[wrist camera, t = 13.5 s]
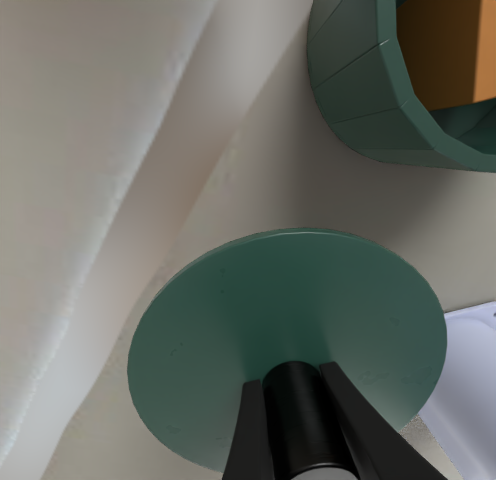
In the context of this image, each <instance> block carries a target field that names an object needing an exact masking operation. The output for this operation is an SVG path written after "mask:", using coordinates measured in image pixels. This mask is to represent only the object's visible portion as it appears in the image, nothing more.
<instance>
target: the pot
mask: <svg viewBox="0 0 496 480" xmlns="http://www.w3.org/2000/svg"><path fill="white" fill-rule="evenodd" d="M406 1H407V0H313V4H312V8H311V12H310V19H309V26H308V36H307V59H308V71H309V76H310V81H311V87H312V90H313V93H314V96H315V99H316V103H317V105H318V107H319V109H320V111H321V113H322V115H323V117H324V119H325V120H326V122H327V124H328V125H329V127H330V128H331V129H332V131H333V132H334V133H335V134H336V135H337V136H338V138H339V139H340V140H342V141H343V142H344V143H345V144H346V145H347V146H349V147H350V148H351V149H353V150H355V151H356V152H358V153H360V154H362V155H364V156H366V157H369V158H371V159H375V160H378V161H380V162H386V163H396V164H406V165H416V166H426V167H436V168H446V169H456V170H466V171H477V172H489V173H496V98H494V99H490V100H486V101H482V102H478V103H474V104H469V105H463V106H458V107H452V108H447V109H441V110H435V111H430V112H428V111H427V110H426V108H425V107H424V106H423V105H422V103H421V102H420V101H419V99H418V98H417V97H416V96H415V94H414V91H413V88H412V84H411V81H410V78H409V75H408V71H407V68H406V65H405V62H404V59H403V55H402V52H401V49H400V46H399V43H398V39H397V33H396V9H397V8H398V7H400V6H401V5H402V4H403V3H404V2H406Z"/></svg>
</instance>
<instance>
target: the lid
mask: <svg viewBox="0 0 496 480" xmlns="http://www.w3.org/2000/svg"><path fill="white" fill-rule="evenodd" d="M446 352H447V326H446V321H445V317H444V312H443V310H442V308H441V305H440V303H439V300H438V298H437V296H436V294H435V293H434V291H433V290H432V288H431V287H430V285H429V283H428V282H427V281H426V280H425V279H424V277H423V276H422V275H421V274H420V273H419V272H418V271H417V270H416V269H415V268H414V267H413V266H412V265H410V264H409V263H408V262H406V261H405V260H404V259H402V258H401V257H400V256H398V255H397V254H395V253H394V252H392V251H390V250H388V249H387V248H385V247H383V246H381V245H379V244H377V243H375V242H373V241H371V240H368V239H365V238H362V237H359V236H357V235H354V234H350V233H345V232H340V231H335V230H330V229H318V228H290V229H277V230H272V231H267V232H261V233H256V234H252V235H249V236H246V237H243V238H240V239H237V240H233V241H230V242H228V243H226V244H224V245H222V246H220V247H217V248H215V249H213V250H211V251H209V252H207V253H205V254H204V255H202V256H201V257H199V258H197V259H196V260H194V261H193V262H191V263H189V264H188V265H187V266H185V267H184V268H183V269H182V270H181V271H179V272H178V273H177V274H176V275H175V276H173V277H172V278H171V279H170V280H169V281H168V282H167V283H166V284H165V285H164V287H163V288H162V289H161V290H160V291H159V292H158V293H157V294H156V295H155V297H154V299H153V300H152V302H151V303H150V305H149V306H148V308H147V309H146V311H145V312H144V314H143V316H142V318H141V320H140V322H139V324H138V327H137V329H136V331H135V333H134V335H133V339H132V342H131V346H130V350H129V354H128V367H127V374H128V384H129V390H130V394H131V397H132V400H133V404H134V406H135V408H136V410H137V412H138V414H139V416H140V418H141V419H142V421H143V422H144V424H145V425H146V426H147V428H148V429H149V430H150V432H151V433H152V434H153V435H154V436H155V437H156V438H157V439H158V440H159V441H160V442H161V443H163V444H164V445H165V446H166V447H168V448H169V449H170V450H172V451H173V452H175V453H176V454H178V455H180V456H181V457H183V458H185V459H186V460H189V461H191V462H193V463H195V464H197V465H199V466H202V467H205V468H208V469H211V470H214V471H217V472H222V473H224V470H225V466H226V463H227V459H228V456H229V452H230V448H231V444H232V440H233V436H234V432H235V427H236V423H237V418H238V413H239V408H240V402H241V395H242V386H243V384H244V383H245V382H249V381H253V380H257V379H260V382H261V385H262V388H263V392H264V399H265V407H266V415H267V423H268V432H269V440H270V447H271V455H272V462H273V470H274V478H275V480H360V476H359V473H358V470H357V468H356V465H355V463H354V460H353V458H352V455H351V453H350V450H349V447H348V445H347V442H346V440H345V437H344V435H343V432H342V429H341V427H340V424H339V422H338V419H337V417H336V414H335V412H334V409H333V407H332V404H331V402H330V399H329V397H328V394H327V391H326V389H325V386H324V384H323V381H322V378H321V373H320V368H319V365H321V364H325V363H329V362H333V361H335V362H337V363H338V365H339V366H340V367H341V369H342V370H343V372H344V373H345V374H346V375H347V377H348V378H349V379H350V381H351V382H352V383H353V384H354V385H355V387H356V388H357V389H358V390H359V391H360V393H361V394H362V395H363V396H364V397H365V398H366V399H367V401H368V402H369V403H370V404H371V405H372V406H373V407H374V408H375V409H376V410H377V411H378V412H379V414H380V415H381V416H382V417H383V418H384V419H385V420H386V421H387V422H388V423H389V424H390V425H391V426H392V427H393V428H394V429H395V430H396V431H397V432H399V431H400V430H401V429H403V428H404V427H405V426H406V425H407V424H408V423H409V422H410V421H411V420H412V419H413V418H414V417H415V416H416V415H417V413H418V412H419V411H420V410H421V408H422V407H423V406H424V405H425V403H426V402H427V400H428V399H429V397H430V396H431V394H432V392H433V391H434V389H435V387H436V385H437V383H438V380H439V378H440V376H441V373H442V370H443V366H444V363H445V359H446Z"/></svg>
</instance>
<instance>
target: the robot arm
mask: <svg viewBox="0 0 496 480" xmlns="http://www.w3.org/2000/svg"><path fill="white" fill-rule="evenodd" d="M444 317H445V321H446V326H447V352H446V359H445V363H444V366H443V370H442V373H441V376H440V378H439V380H438V383H437V385H436V387H435V389H434V391H433V392H432V394H431V396H430V397H429V399H428V400H427V402H426V403H425V405H424V406H423V407H422V408H421V410H420V411H419V412H418V415H419V416H420V418H421V419H422V420H423V422H424V423H425V425H426V426H427V428H428V429H429V430H430V432H431V433H432V435H433V436H434V438H435V439H436V440H437V442H438V443H439V445H440V446H441V448H442V449H443V450H444V452H445V453H446V455H447V456H448V458H449V459H450V460H451V462H452V463H453V465H454V466H455V467H456V469H457V470H458V472H459V473H460V475H461V476H462V477H463V479H464V480H496V301H493V302H489V303H485V304H481V305H477V306H473V307H469V308H464V309H460V310H456V311H452V312H448V313H444ZM319 368H320V373H321V378H322V381H323V384H324V386H325V389H326V391H327V394H328V397H329V399H330V402H331V404H332V407H333V409H334V412H335V414H336V417H337V419H338V422H339V424H340V427H341V429H342V432H343V435H344V437H345V440H346V442H347V445H348V447H349V450H350V453H351V455H352V458H353V460H354V463H355V465H356V468H357V470H358V473H359V476H360V480H448V479H447V478H446V477H444V476H443V475H442V474H441V473H440V472H439V471H438V470H437V469H436V468H434V467H433V466H432V465H431V464H430V463H429V462H428V461H427V460H426V459H425V458H423V457H422V456H421V455H420V454H419V453H418V452H417V451H416V450H415V449H414V448H413V447H412V446H411V445H410V444H409V443H408V442H407V441H406V440H405V439H404V438H403V437H402V436H401V435H400V434H399V433H398V432H397V431H396V430H395V429H394V428H393V427H392V426H391V425H390V424H389V423H388V422H387V421H386V420H385V419H384V418H383V417H382V416H381V415H380V414H379V412H378V411H377V410H376V409H375V408H374V407H373V406H372V405H371V404H370V403H369V402H368V401H367V399H366V398H365V397H364V396H363V395H362V394H361V393H360V391H359V390H358V389H357V388H356V387H355V385H354V384H353V383H352V382H351V381H350V379H349V378H348V377H347V375H346V374H345V373H344V372H343V370H342V369H341V367H340V366H339V365H338V363H337V362H335V361H333V362H329V363H325V364H321V365H319ZM222 480H275V478H274V470H273V462H272V455H271V447H270V440H269V432H268V423H267V415H266V407H265V399H264V392H263V388H262V385H261V382H260V379H257V380H253V381H249V382H245V383H244V384H243V386H242V395H241V402H240V408H239V413H238V418H237V423H236V427H235V432H234V436H233V440H232V444H231V448H230V452H229V456H228V459H227V463H226V466H225V470H224V474H223V477H222Z"/></svg>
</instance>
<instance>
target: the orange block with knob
mask: <svg viewBox="0 0 496 480" xmlns="http://www.w3.org/2000/svg"><path fill="white" fill-rule="evenodd" d="M396 33H397V39H398V43H399V46H400V49H401V52H402V55H403V59H404V62H405V65H406V68H407V71H408V75H409V78H410V81H411V84H412V88H413V91H414V94H415V96H416V97H417V98H418V99H419V101H420V102H421V103H422V105H423V106H424V107H425V108H426V110H427V111H428V112H430V111H435V110H441V109H447V108H452V107H458V106H463V105H469V104H474V103H478V102H482V101H486V100H490V99H494V98H496V0H407V1H406V2H404V3H403V4H402V5H401V6H400V7H398V8H397V9H396Z"/></svg>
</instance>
